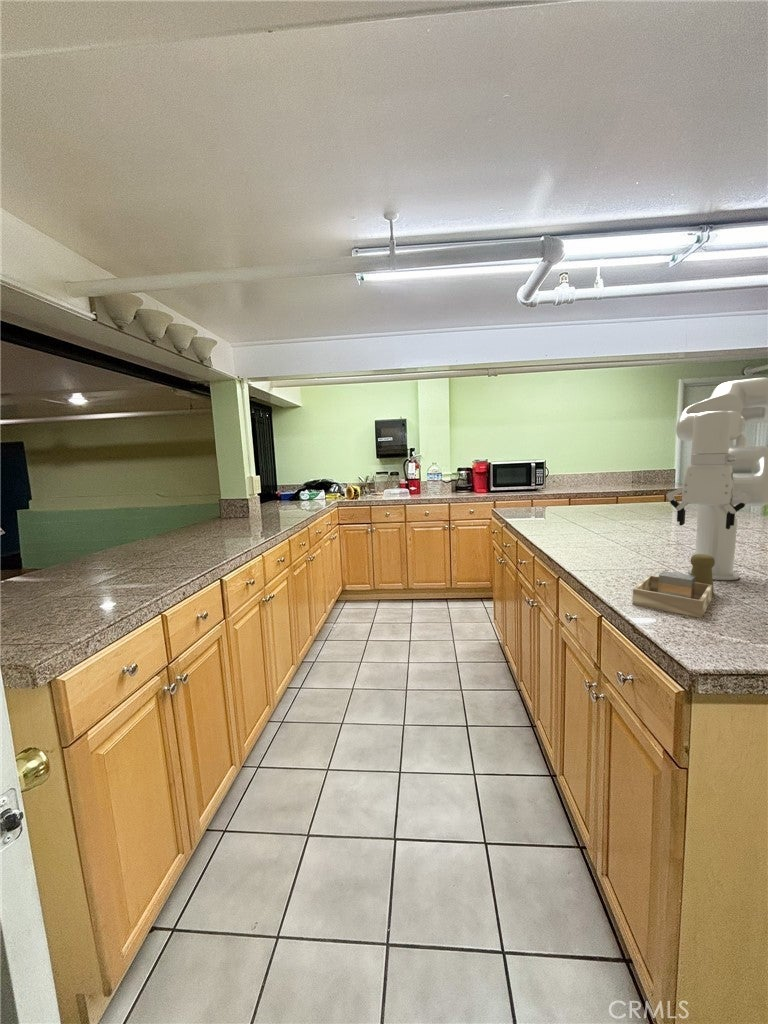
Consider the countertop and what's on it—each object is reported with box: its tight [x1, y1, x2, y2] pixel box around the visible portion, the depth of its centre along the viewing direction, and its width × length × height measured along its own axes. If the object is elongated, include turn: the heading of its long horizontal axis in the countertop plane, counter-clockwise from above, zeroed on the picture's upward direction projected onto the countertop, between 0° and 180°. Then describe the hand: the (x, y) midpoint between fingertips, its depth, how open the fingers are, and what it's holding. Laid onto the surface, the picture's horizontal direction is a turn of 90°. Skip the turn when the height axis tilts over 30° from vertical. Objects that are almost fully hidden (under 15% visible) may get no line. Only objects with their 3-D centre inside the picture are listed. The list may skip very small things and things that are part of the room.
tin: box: [658, 570, 695, 599], centre depth 107 cm, size 5×7×6 cm
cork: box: [690, 553, 715, 597], centre depth 110 cm, size 6×6×11 cm
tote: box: [632, 574, 714, 619], centre depth 104 cm, size 16×14×4 cm
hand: (704, 526), depth 107 cm, fingers open, 9 cm apart
